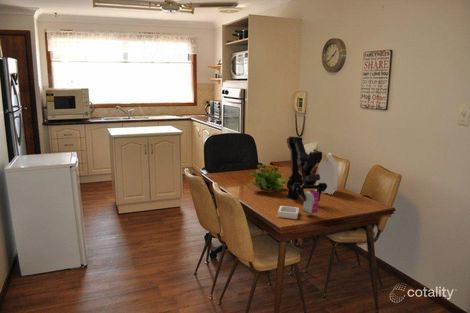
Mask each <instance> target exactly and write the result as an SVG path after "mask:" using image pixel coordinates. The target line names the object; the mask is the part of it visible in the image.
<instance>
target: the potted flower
mask: <svg viewBox="0 0 470 313" xmlns="http://www.w3.org/2000/svg"><path fill="white" fill-rule="evenodd" d="M257 169H258V171H259V172H255V171H254V172H253V171H252V172H251V171H250V172H249V175H250V176H252V177H254V181H255V182H254V181H252V180H251V181H250V183H251V184H253V186H255V187H256V188H259V189H260V191H261V192H263V193H264V192H265V193H273V192H275V190H276V191H281V190H283V188H284V187H285V186H284V185H285V184H287V180H286V179H285V178H282V176H284V175H285V174H284V173H277V172H278V170H279V167H278V166H277V165H272V164H271V165H267V166H266V164H265V163H263V164H262V165H260V164H258V165H257ZM283 184H284V185H283Z"/></svg>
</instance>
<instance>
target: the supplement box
mask: <svg viewBox="0 0 470 313" xmlns="http://www.w3.org/2000/svg"><path fill="white" fill-rule="evenodd" d="M304 194H305V199H306V201H304V200H303V208H302V211H303V212H304V213H306V214H309V215H312V214H316V213H318V208H319V201H318V200H319V193H318V192H315V190H314V189H310V190H305V191H304Z"/></svg>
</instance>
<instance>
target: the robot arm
mask: <svg viewBox="0 0 470 313" xmlns="http://www.w3.org/2000/svg"><path fill="white" fill-rule="evenodd" d="M286 144H287V147H288V149H289V151H290V167H291V168H290V171H291V173H290V175H289V177H288V181H286V188H287V189H288V192H287V193H288V194H287V195H286V198H288V199H293V200H297V199H300V198H301V199H302V200H303V202H304V201H306V199H305V191H304V190H309V189H310V190H315V189H317V191H316V192H318V193H319V200H318V202H320V200H321V195H322V193H321V192H324V191H325V190H326V188H327V184H326V183H319V184H318V185H316V182H317V180H320V175H319V174H318V173H316V174H314V175H313V171H314V170H315V168H316V166H317V163H318V162H317V161H316V160H315V159H314V158H313V156H310V154H308V153H307V152H306V151H307V150H306V149H305V146H304V142H303V137H301V136H288V137H287V138H286ZM299 167H301V169H300V168H299Z"/></svg>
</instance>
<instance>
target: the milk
mask: <svg viewBox="0 0 470 313" xmlns="http://www.w3.org/2000/svg"><path fill="white" fill-rule="evenodd" d="M317 168H318V169H317V174H319V175H320V180H317V181H316V183H315V185H318V184H319V183H326V184H327V188H326V190H325V191H324V192H321V194H325V193H328V194H327V195H331V194H332V195H333V193H334V192H335V191H336V190H337V191H338V179H339V163H338V162H337V160H336V159H335V158H334V157H333V154H332V152H329V153H327V154H326V159H325V158H324V160H323V161H322V162H320V163H319V164H318V167H317ZM314 191H315V192H316V191H317V189H314ZM337 191H336V192H337ZM336 192H335V193H336ZM335 193H334V194H335Z"/></svg>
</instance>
